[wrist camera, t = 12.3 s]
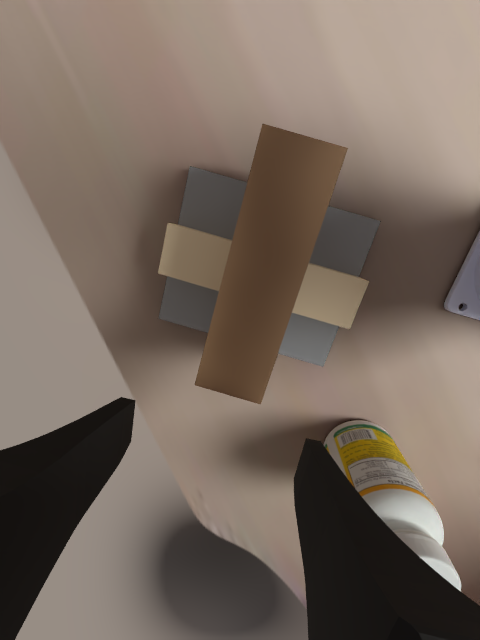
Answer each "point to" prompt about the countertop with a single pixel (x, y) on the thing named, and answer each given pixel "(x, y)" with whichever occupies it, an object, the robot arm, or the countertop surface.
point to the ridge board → (222, 219)
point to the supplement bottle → (391, 490)
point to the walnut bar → (268, 259)
